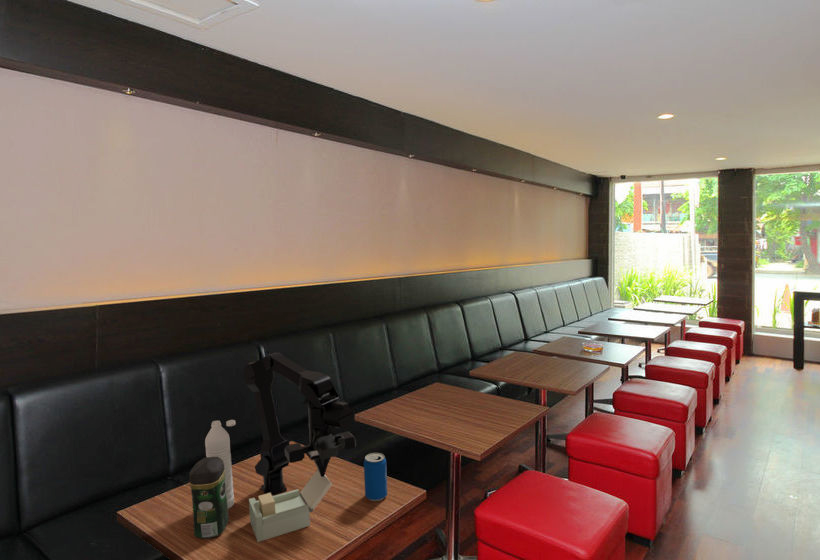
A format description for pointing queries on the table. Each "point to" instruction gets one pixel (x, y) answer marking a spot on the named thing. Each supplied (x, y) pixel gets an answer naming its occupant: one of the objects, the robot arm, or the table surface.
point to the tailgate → (315, 490)
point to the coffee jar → (209, 497)
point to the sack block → (266, 505)
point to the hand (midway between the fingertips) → (322, 476)
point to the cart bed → (279, 516)
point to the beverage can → (375, 476)
